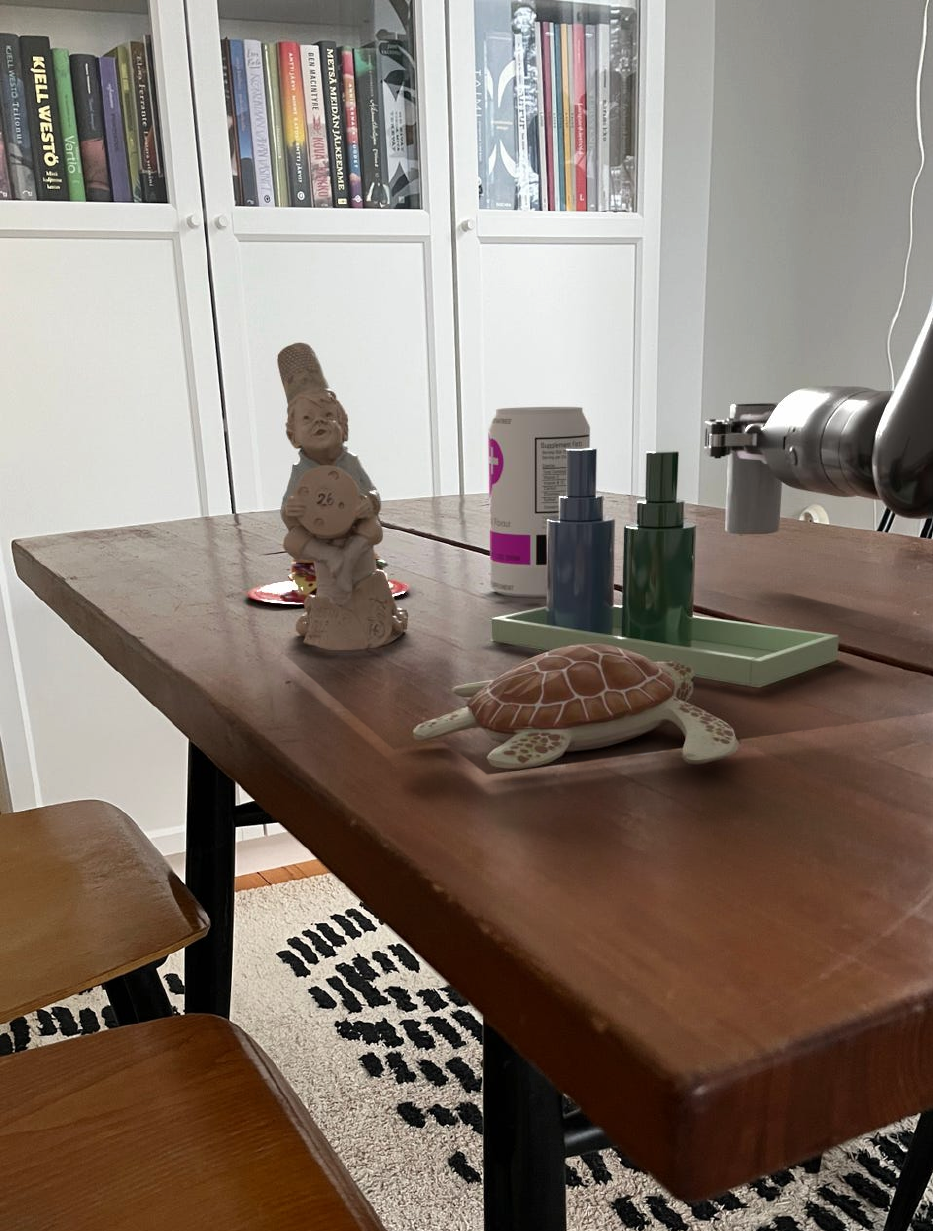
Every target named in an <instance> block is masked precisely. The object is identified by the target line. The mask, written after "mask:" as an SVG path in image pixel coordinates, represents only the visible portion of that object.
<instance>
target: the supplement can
mask: <svg viewBox="0 0 933 1231" xmlns="http://www.w3.org/2000/svg"><path fill="white" fill-rule="evenodd" d="M487 429H488V430H487V433H488V434H487V436H488V437H487V440H488V441H487V444H488V446H487V448H488V504H489V505H488V507H489V508H488V513H489V514H488V515H489V516H488V517H489V518H488V519H489V577H490V578H489V579H490V581H489V582H490V584H489V585H490V586H489V587H490V588H491V589H492V590H493V591H494V592H495V593H497V594H498V595H499V594H500V595H504V596H507V597H508V596H509V597H518V598H547V519H548V518H551V517H557V516H559V496H560V495H565V494H566V450H567V449H570V448H591V426H590V424H589V422H588V420H587V418H586V416H585V413H584V411H583V407H582V406H527V407H526V406H525V407H522V406H521V407H503V408H495V414H494V416H493V418H492V421H491V422H490V424H489V427H488V428H487Z"/></svg>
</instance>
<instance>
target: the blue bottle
mask: <svg viewBox="0 0 933 1231" xmlns="http://www.w3.org/2000/svg"><path fill="white" fill-rule="evenodd" d="M597 455H598V449H597V448H595V447H590V448H570V449H567V450H566V494H565V495H560V496H559V516H557V517H551V518H548V519H547V597H546V606H547V625H550V626H556V627H562V628H569V629H575V630H581V631H588V632H594V633H600V634H607V635H613V609H614V605H615V604H614V603H615V602H614V601H615V556H616V554H615V553H616V552H615V550H616V518H615V517H613V516H611V515H610V516H609V515H604V508H605V507H604V504H605V502H604V501H605V499H604V498H605V496H604V495H603V494H600V493H597V470H598V469H597V468H598V467H597V466H598V465H597V462H598V461H597V460H598V456H597Z"/></svg>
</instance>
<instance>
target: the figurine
mask: <svg viewBox="0 0 933 1231" xmlns="http://www.w3.org/2000/svg"><path fill="white" fill-rule="evenodd" d="M276 359H277V361H276V362H277V368H278V372H279V373H278V374H279V376H280V381H281V384H282V387H283V391H284V393H285V398H286V404H287V408H286V415H287V419H286V422H285V427H286V429H285V435H286V437H287V440H288V441H289V443H290V444H291V445H292V447H293V448H294V449H295V450H297V449H299V451H298V452H297V454H298V457H299V459H300V460H299V461H298V462H296V463H293V464H292V465H291V472H290V477H289V480H288V484H287V486H286V490H285V492H284V495H283V496H282V501H281V506H280V510H279V514H280V518H281V520H282V522H283V524H284V525H285V527H286V529H287V530H288V532H287V533H286V534H285V536H284V538H283V543H282V547H283V549H284V551H285V552H286V554H288V555H289V556H290V557H291V558H292V559H294V558H295V559H303V560H308V561H312V562H313V561H314V566H315V572H316V577H317V578H316V583H317V586H316V587H317V592H316V595H315V596H311V595H308V596H307V597H306V599H305V601H304V604H303V605H304V606H303V607H304V611H305V612H306V613H303V614H301V615H300V616H299V618H298V619H297V621H296V623H295V632H296V633H297V634H299V635H300V636H301V637H304V639H303V643H304V644H307V645H310V646H316V647H319V648H321V649H324V650H330V651H332V650H333V651H349V650H351V651H352V650H355V651H356V650H367V649H374V648H375V649H376V648H379V647H381V646H385V645H388V644H390V643H392V642H393V641H395V640H396V639H397V638H399V637H400V636H401V635H403V634H404V631H406V630H408V622H409V613H408V611H407V609H406V608H400V607H398V606H397V603H396V600H395V596H393V594H392V591H391V588H390V584H389V582H388V581H387V580H386V577H385V574H384V573H385V572H384V569H383V570H377V567H376V560H375V553H374V550H375V546H377V545H379V544H380V543H382V541H383V538H384V530H383V526H382V525H381V523H380V522H381V518H380V515H379V513H380V512H381V510H382V509H381V508H382V499H381V495H380V493H379V491H378V489H377V487H376V486H375V484H374V483H373V481H372V480H371V478H370V476H369V474H368V473H367V471H366V470H365V468H364V467H363V465H362V463H361V460H360V459H359V456H358V454H356V453H355V454H354V453H353V452H351V451H349V450H348V449H349V447H348V446H347V445H346V444H345V443H346V442H348V441H349V431H350V430H349V423H348V422H349V416H348V414H347V413H346V409H345V408H344V405H342V403H341V402H340V400H338V399H337V394H336V393H335V392H334V390H332V389H331V387H330V385H329V383H328V380H327V378H326V375H325V373H324V371H323V368H322V365H321V362H320V361H319V358H318V356H317V354H316V351H315V350H314V348H313V347H312V345H311V344H309V343H306V342H302V341H301V342H294V343H291V344H289V345H287V346H285V347H283V348H282V349H281V350H280V351H279V352H278V354H277V358H276Z"/></svg>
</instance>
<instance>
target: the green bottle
mask: <svg viewBox="0 0 933 1231" xmlns="http://www.w3.org/2000/svg"><path fill="white" fill-rule="evenodd" d="M679 453H680V452H679V451H678V450H666V449H665V450H649V451H646V453H645V482H644V484H645V485H644V486H645V487H644V488H645V492H644V499H639V500H637V502H636V521H635V522H629V523H626V524H624V526H623V547H622V590H621V591H622V593H621V595H622V596H621V606H622V631H621V637H626V638H632V639H639V640H645V641H651V642H658V643H664V644H670V645H677V646H683V647H689V648H692V625H693V616H694V599H695V579H696V578H695V577H696V576H695V574H696V556H697V555H696V552H697V530H698V529H697V528H698V526H697V524H695V523H692V522H688V521H685V509H686V501H685V500H684V499H680V498H678V487H679V486H678V482H679Z"/></svg>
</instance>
